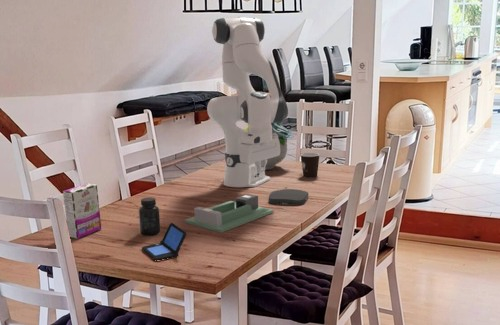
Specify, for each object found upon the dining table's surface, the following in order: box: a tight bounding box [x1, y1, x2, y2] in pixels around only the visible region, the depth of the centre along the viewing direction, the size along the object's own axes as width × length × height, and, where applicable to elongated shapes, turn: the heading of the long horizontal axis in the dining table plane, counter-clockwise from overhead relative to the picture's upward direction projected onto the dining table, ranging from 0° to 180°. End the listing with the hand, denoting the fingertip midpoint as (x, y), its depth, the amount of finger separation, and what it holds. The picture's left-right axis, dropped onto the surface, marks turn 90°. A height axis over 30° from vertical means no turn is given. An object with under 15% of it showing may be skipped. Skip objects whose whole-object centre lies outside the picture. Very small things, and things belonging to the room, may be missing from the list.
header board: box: [184, 200, 275, 233], centre depth 217 cm, size 28×18×6 cm, turn 139°
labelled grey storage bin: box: [235, 193, 259, 210], centre depth 224 cm, size 7×5×5 cm
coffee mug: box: [300, 152, 321, 178], centre depth 276 cm, size 12×9×10 cm
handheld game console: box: [141, 222, 187, 262], centre depth 184 cm, size 12×11×7 cm
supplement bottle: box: [138, 197, 161, 237], centre depth 202 cm, size 7×7×12 cm
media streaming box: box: [268, 188, 309, 206], centre depth 238 cm, size 15×15×3 cm
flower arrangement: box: [243, 122, 295, 171], centre depth 290 cm, size 25×25×24 cm
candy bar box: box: [62, 182, 102, 240], centre depth 203 cm, size 11×5×16 cm, turn 148°
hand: (261, 171), depth 228 cm, fingers closed
